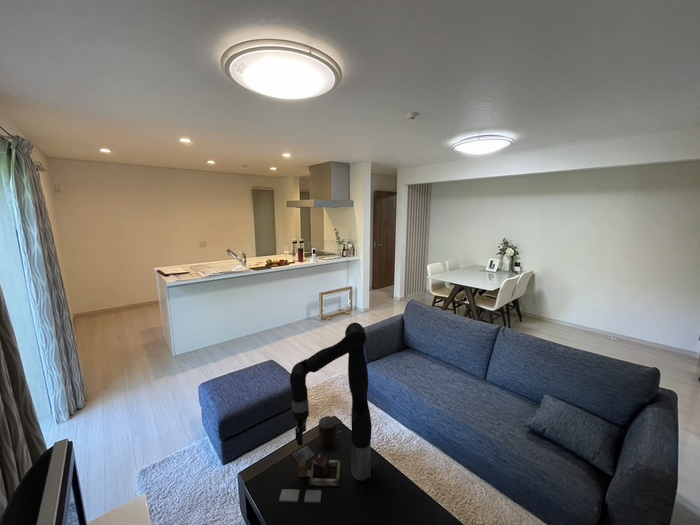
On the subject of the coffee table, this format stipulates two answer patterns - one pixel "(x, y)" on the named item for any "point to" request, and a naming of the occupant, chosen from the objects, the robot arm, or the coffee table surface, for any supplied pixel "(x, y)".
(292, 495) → the pair of grey tiles
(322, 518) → the coffee table surface
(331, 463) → the wooden open tray
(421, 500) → the coffee table surface
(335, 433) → the pillar candle
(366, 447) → the robot arm
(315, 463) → the box
